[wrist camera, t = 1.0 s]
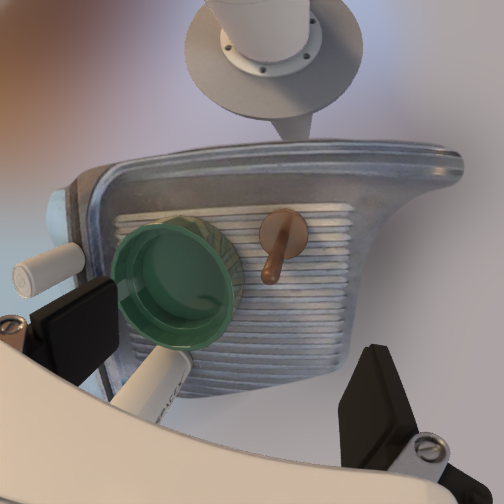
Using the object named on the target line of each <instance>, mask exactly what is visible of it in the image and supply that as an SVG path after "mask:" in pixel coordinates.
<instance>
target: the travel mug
mask: <svg viewBox="0 0 504 504" xmlns="http://www.w3.org/2000/svg"><path fill="white" fill-rule="evenodd" d="M192 367H193V360H192V357H191V355H190V354H189V352H188V351H176V350H170V349H167V348H164V347H161V346H158V345H157V346H156V347H155V348H154V349H153V351H152V352H151V353H150V354H149V355H148V357H147V358H146V359H145V360H144V361H143V363H142V364H141V365H140V366H139V367H138V369H137V370H136V371H135V372H134V374H133V375H132V376H131V377H130V378H129V380H128V381H127V382H126V383H125V384H124V386H123V387H122V388H121V389H120V391H119V392H118V393H117V394H116V395H115V397H114V398H113V399H112V400H111V402H110V404H112V405H114V406H116V407H119V408H121V409H123V410H125V411H127V412H130V413H132V414H134V415H137V416H139V417H141V418H144V419H146V420H149V421H151V422H154V423H156V424H160V423H161V421H162V419H163V418H164V416H165V414H166V412H167V411H168V409H169V407H170V406H171V404H172V402H173V400H174V399H175V397H176V395H177V393H178V392H179V390H180V388H181V387H182V385H183V383H184V381H185V380H186V378H187V376H188V374H189V373H190V371H191V369H192Z"/></svg>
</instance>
